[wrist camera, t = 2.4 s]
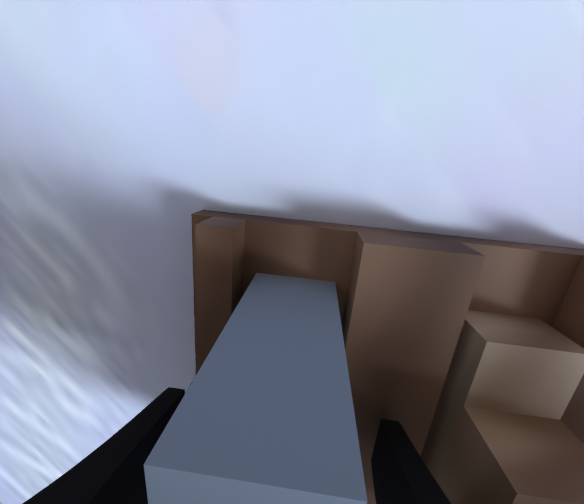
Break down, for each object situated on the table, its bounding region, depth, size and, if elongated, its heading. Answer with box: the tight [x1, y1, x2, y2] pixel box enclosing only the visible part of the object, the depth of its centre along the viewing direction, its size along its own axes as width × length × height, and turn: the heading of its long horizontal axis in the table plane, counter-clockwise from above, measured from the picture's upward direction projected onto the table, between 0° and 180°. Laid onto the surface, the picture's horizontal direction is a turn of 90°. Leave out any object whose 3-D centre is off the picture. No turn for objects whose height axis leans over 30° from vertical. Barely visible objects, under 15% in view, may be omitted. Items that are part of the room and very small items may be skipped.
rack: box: [192, 210, 584, 504], centre depth 11 cm, size 15×14×2 cm
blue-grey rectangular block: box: [144, 273, 368, 504], centre depth 8 cm, size 3×10×7 cm, turn 175°
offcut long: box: [421, 310, 584, 481], centre depth 10 cm, size 3×9×2 cm, turn 175°
